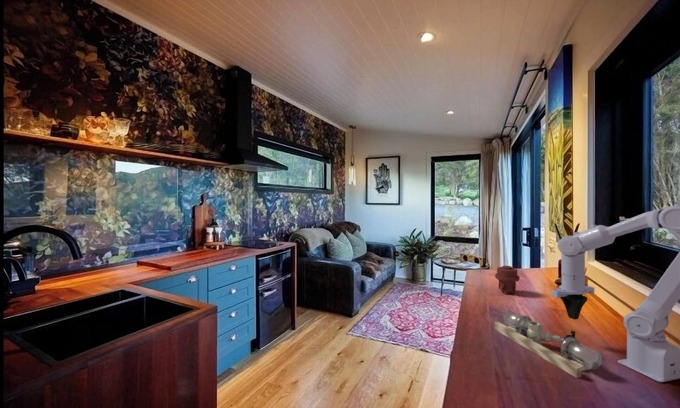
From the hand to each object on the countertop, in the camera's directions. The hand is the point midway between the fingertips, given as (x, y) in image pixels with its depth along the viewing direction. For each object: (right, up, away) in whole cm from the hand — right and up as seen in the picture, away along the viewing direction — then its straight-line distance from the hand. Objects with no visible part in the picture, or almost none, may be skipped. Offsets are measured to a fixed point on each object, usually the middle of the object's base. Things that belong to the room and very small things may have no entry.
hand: (573, 318), depth 94 cm
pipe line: (-10, -8, -2) cm, 13 cm away
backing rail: (-15, -8, -3) cm, 17 cm away
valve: (-9, -8, -2) cm, 12 cm away
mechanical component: (+6, -6, +48) cm, 49 cm away
